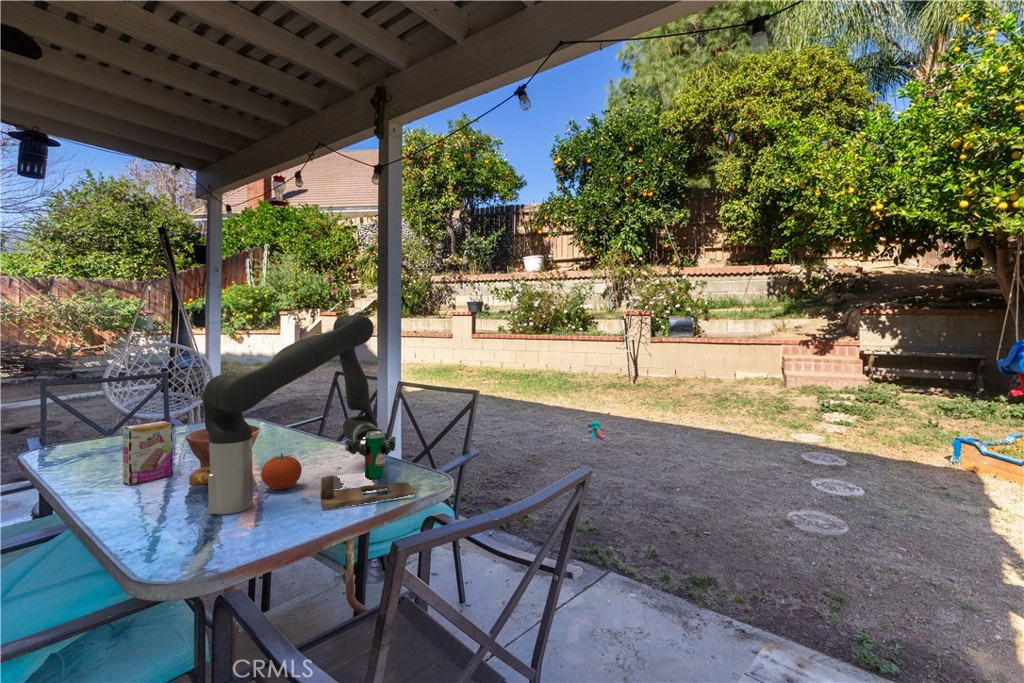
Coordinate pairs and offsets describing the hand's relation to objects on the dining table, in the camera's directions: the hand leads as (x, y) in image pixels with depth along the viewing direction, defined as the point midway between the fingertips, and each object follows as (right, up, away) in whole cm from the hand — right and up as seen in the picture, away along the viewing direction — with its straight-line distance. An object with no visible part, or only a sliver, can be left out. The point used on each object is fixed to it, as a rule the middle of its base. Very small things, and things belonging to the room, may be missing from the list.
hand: (376, 451), depth 128 cm
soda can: (-1, -8, +3) cm, 8 cm away
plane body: (-3, -13, +2) cm, 13 cm away
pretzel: (-53, -13, +17) cm, 57 cm away
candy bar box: (-71, -12, +17) cm, 74 cm away
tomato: (-29, -13, +9) cm, 33 cm away
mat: (-12, -12, +16) cm, 23 cm away
